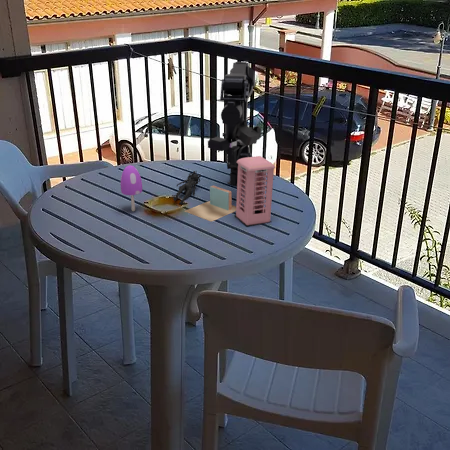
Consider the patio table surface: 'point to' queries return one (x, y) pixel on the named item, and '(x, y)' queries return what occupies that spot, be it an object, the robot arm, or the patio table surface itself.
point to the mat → (210, 211)
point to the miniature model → (254, 190)
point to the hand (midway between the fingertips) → (234, 165)
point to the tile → (220, 198)
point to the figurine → (188, 186)
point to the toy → (131, 183)
